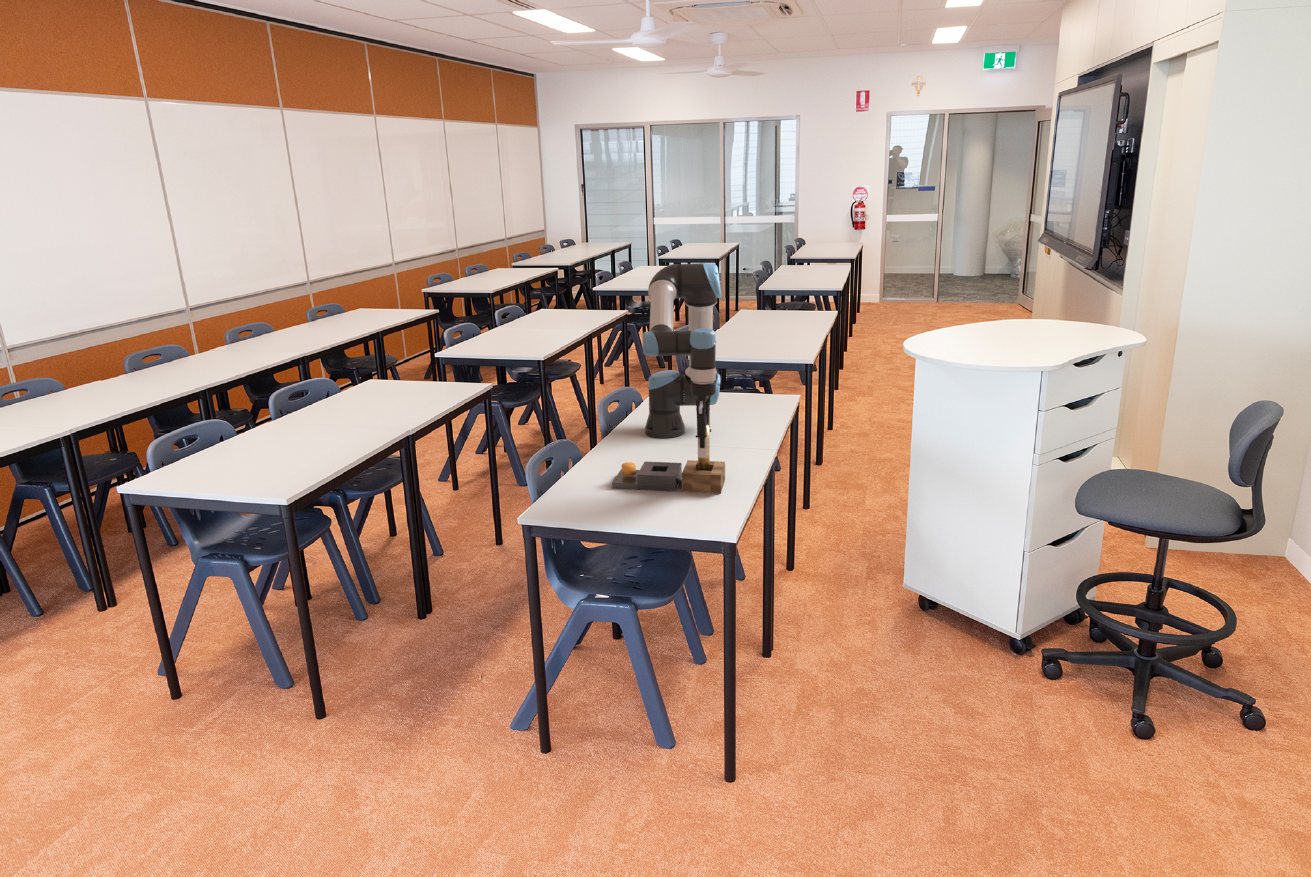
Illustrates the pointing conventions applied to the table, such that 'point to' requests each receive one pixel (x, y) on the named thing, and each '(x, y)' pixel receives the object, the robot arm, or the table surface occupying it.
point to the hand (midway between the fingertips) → (703, 454)
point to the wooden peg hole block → (703, 478)
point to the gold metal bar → (705, 462)
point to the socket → (651, 477)
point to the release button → (628, 469)
